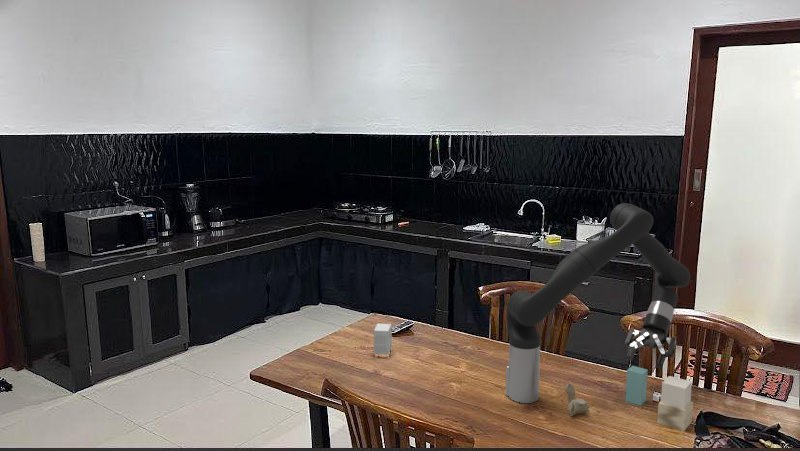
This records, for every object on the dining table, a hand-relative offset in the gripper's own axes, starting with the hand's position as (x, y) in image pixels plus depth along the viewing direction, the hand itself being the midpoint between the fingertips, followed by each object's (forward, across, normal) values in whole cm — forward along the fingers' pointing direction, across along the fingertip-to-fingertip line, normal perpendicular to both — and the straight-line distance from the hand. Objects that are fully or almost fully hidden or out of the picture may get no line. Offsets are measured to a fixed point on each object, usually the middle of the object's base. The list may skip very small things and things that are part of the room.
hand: (643, 363), depth 175 cm
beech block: (+16, +13, -1) cm, 21 cm away
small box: (+28, -85, -13) cm, 90 cm away
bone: (+25, -10, -10) cm, 29 cm away
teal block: (+11, 0, +3) cm, 12 cm away
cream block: (+12, +13, -5) cm, 18 cm away
